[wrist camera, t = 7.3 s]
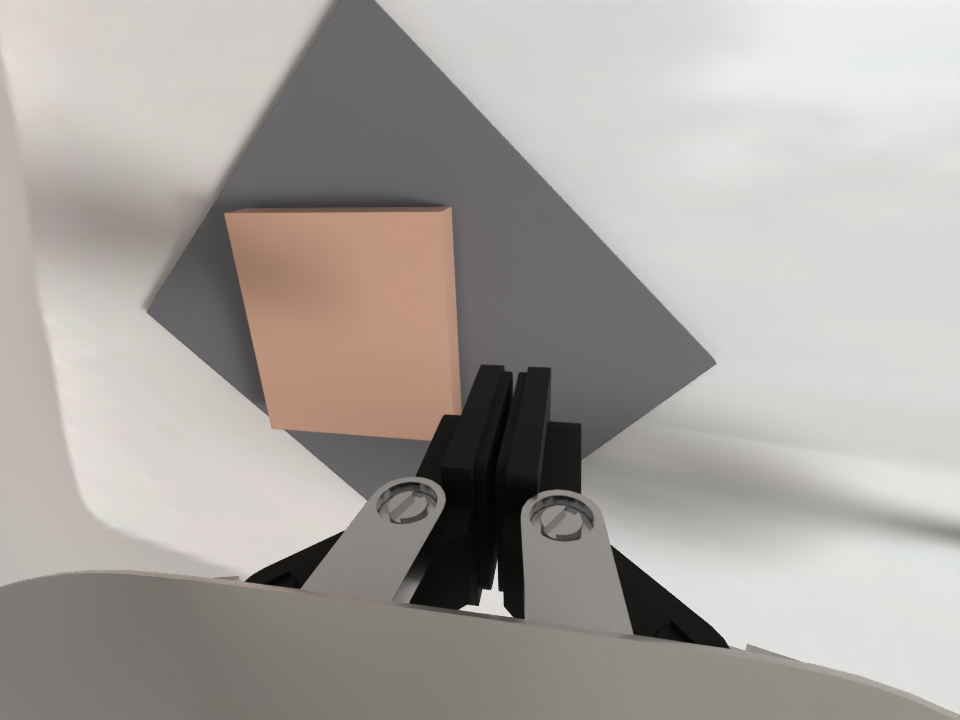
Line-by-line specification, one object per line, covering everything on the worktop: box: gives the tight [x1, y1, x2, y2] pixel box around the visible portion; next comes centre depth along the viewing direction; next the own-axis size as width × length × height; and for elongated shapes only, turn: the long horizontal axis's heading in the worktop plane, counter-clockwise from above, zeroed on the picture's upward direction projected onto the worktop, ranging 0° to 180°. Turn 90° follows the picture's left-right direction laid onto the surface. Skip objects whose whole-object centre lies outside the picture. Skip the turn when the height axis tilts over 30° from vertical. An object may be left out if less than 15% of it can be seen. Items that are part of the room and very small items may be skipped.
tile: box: [224, 207, 462, 441], centre depth 23 cm, size 10×2×9 cm
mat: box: [147, 0, 717, 501], centre depth 24 cm, size 20×18×1 cm
